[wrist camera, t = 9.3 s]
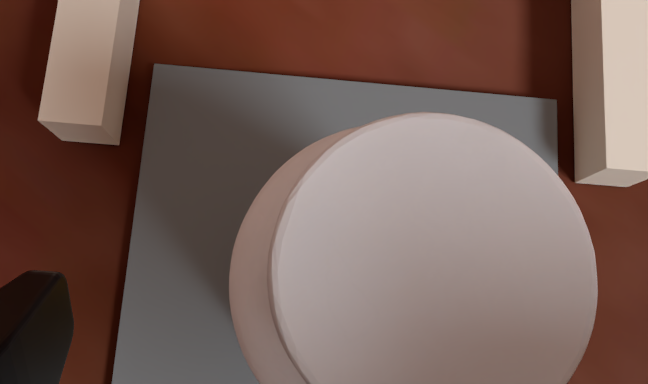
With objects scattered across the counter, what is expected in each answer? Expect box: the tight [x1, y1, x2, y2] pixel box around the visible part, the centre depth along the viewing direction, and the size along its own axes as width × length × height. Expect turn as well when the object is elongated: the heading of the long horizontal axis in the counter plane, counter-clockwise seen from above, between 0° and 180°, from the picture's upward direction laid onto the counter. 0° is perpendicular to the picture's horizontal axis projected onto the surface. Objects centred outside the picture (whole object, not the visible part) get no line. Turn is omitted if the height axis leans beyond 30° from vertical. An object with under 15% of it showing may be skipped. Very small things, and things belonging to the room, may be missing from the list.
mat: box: [112, 64, 558, 384], centre depth 17 cm, size 12×12×1 cm
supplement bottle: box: [229, 112, 598, 384], centre depth 12 cm, size 5×5×10 cm
